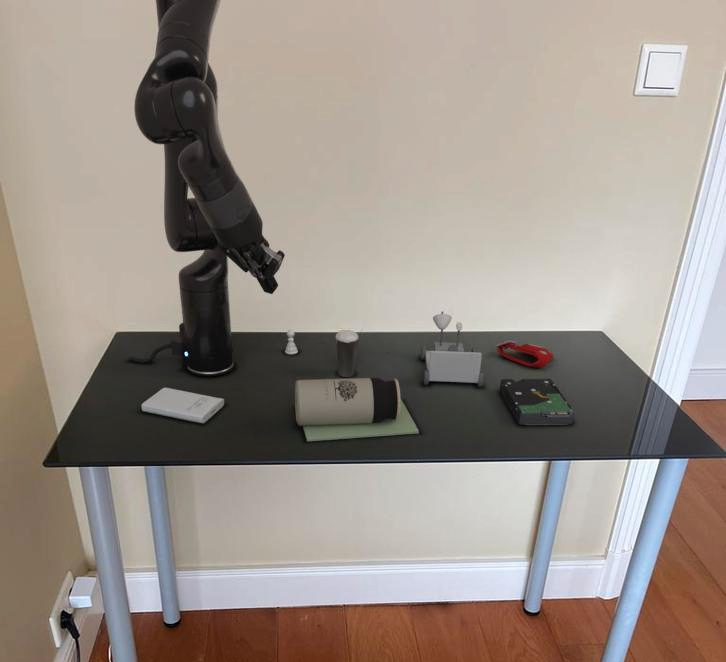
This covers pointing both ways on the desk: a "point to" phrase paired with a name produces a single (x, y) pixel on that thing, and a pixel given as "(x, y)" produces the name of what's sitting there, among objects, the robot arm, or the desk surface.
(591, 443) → the desk surface
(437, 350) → the toy car
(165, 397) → the hard drive
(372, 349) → the desk surface
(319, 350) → the desk surface
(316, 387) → the travel mug
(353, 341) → the milkshake
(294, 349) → the chess pawn
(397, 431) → the mat
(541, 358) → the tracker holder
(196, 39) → the robot arm
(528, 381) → the disk drive
